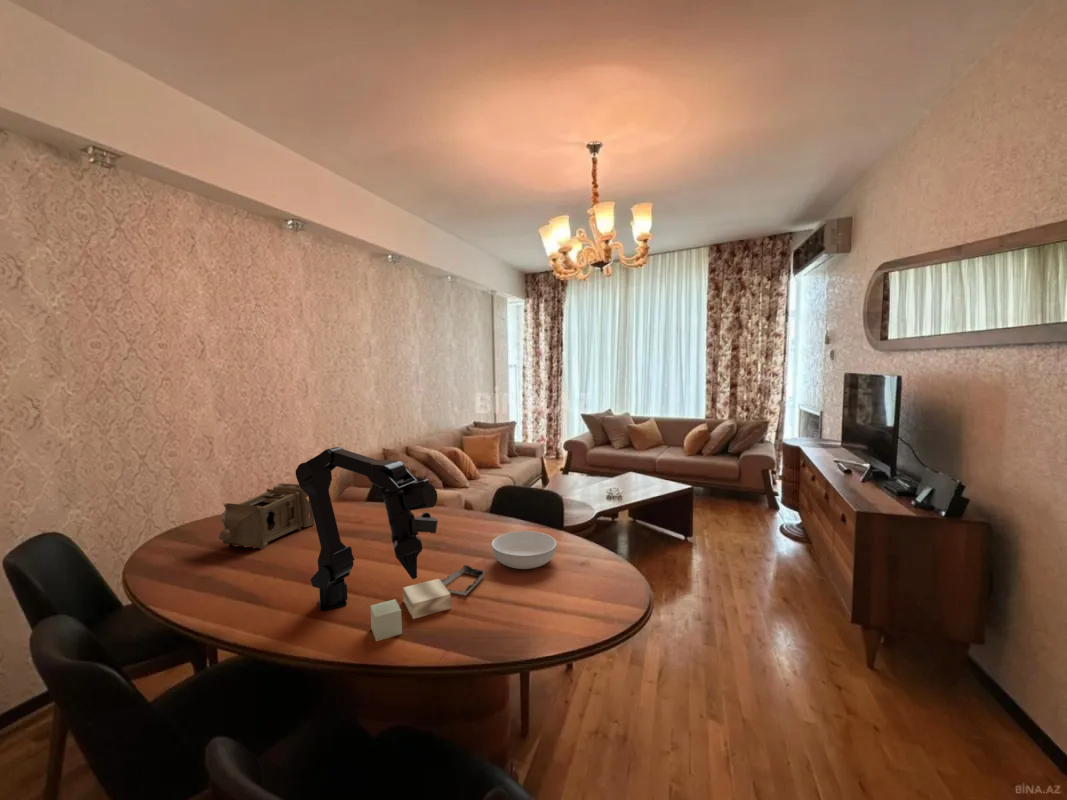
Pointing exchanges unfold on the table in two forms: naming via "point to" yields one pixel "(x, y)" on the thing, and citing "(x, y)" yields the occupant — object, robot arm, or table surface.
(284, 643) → the table surface
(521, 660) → the table surface
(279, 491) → the toy tower
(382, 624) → the green cube
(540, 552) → the serving bowl
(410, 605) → the beige square block
